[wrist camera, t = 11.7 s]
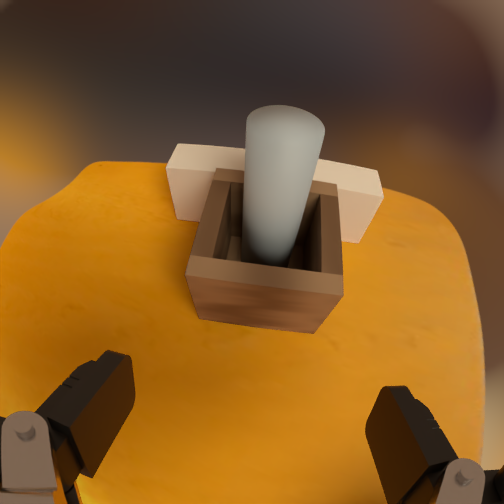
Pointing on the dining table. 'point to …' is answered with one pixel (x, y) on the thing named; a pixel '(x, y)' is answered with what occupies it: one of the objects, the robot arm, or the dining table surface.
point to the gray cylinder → (277, 180)
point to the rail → (211, 157)
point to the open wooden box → (262, 276)
